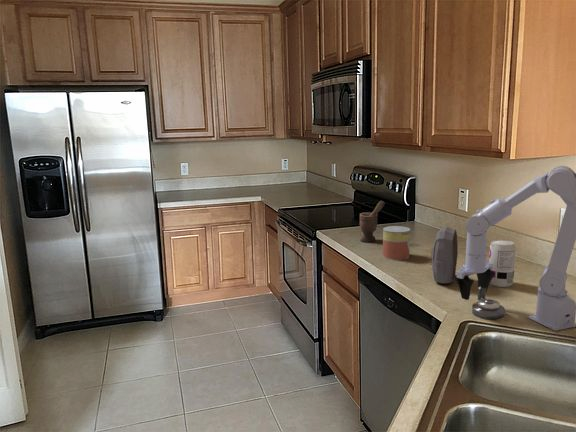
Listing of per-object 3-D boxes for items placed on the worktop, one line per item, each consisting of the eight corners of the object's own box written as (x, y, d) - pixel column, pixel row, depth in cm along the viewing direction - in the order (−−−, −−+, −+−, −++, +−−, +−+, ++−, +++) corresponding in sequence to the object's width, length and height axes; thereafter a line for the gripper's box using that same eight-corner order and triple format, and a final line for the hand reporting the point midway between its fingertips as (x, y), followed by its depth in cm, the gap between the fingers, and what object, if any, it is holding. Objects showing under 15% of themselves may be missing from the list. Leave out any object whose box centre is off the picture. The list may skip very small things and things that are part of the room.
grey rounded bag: (451, 288, 163) (453, 232, 159) (426, 285, 167) (428, 230, 163) (457, 275, 176) (459, 223, 172) (434, 272, 180) (436, 221, 176)
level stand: (511, 316, 139) (511, 310, 139) (486, 321, 136) (486, 315, 136) (489, 306, 148) (489, 299, 147) (465, 310, 145) (465, 303, 144)
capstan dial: (502, 310, 139) (503, 297, 138) (482, 310, 139) (483, 297, 138) (489, 298, 148) (490, 285, 147) (470, 298, 148) (471, 286, 147)
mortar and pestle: (382, 238, 232) (383, 198, 228) (384, 243, 224) (385, 201, 220) (358, 238, 233) (359, 198, 229) (360, 243, 225) (360, 201, 221)
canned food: (410, 260, 196) (411, 232, 194) (382, 259, 198) (382, 231, 196) (409, 252, 207) (409, 226, 205) (382, 252, 209) (383, 225, 207)
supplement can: (483, 284, 167) (486, 243, 164) (493, 278, 172) (496, 238, 169) (507, 289, 161) (510, 247, 158) (516, 283, 167) (519, 242, 163)
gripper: (479, 246, 150) (477, 287, 153) (449, 254, 143) (447, 297, 145) (499, 251, 144) (497, 293, 147) (468, 260, 137) (466, 304, 140)
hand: (473, 296), depth 146 cm, fingers open, 7 cm apart
